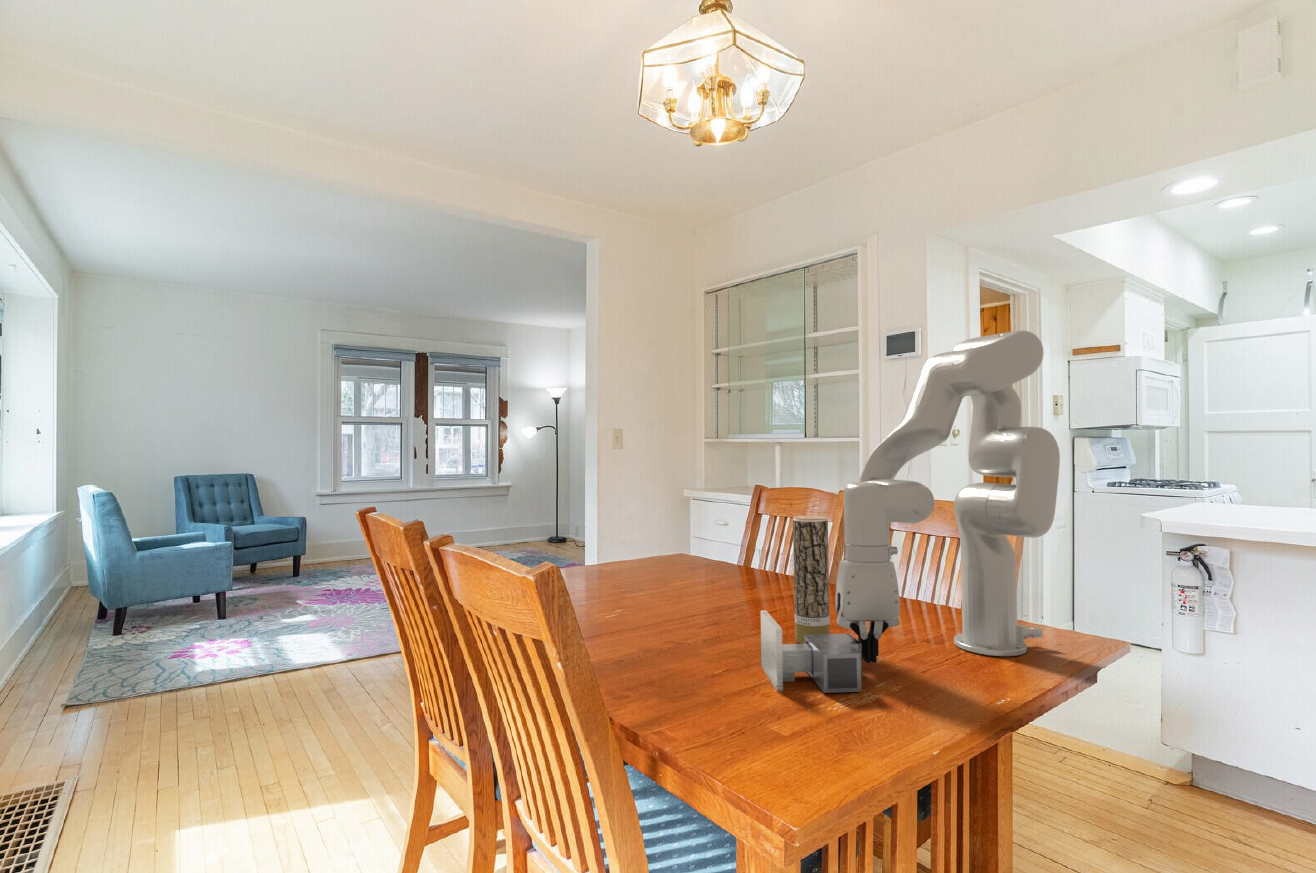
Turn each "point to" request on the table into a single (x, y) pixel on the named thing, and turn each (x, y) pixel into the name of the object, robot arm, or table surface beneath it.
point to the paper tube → (811, 576)
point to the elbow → (836, 662)
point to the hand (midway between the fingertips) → (868, 660)
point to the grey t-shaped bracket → (782, 654)
